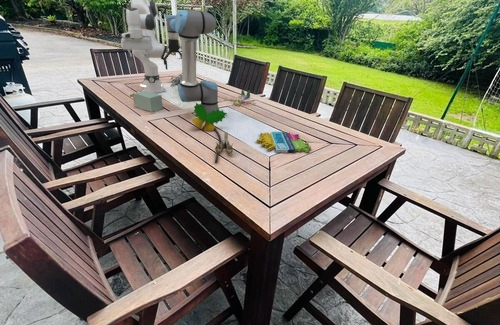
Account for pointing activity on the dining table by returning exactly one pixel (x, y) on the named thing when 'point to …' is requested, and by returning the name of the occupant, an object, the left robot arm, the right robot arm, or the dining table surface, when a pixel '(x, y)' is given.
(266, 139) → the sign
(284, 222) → the dining table surface
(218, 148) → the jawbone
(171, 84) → the airplane
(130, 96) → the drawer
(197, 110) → the ornament
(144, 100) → the grey-green rectangular block
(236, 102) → the toy
